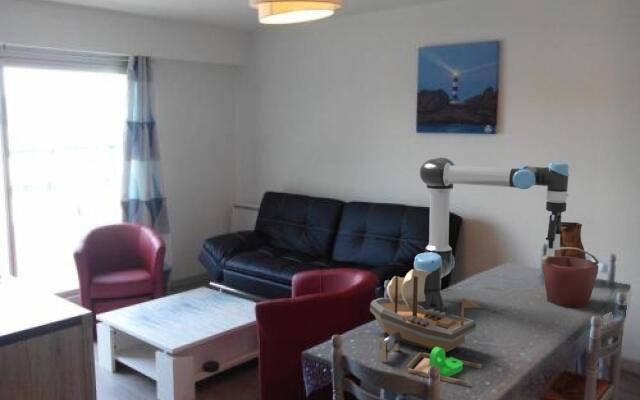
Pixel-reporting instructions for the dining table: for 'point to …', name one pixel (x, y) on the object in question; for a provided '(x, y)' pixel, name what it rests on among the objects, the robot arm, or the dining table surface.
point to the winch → (390, 345)
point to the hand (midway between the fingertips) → (553, 252)
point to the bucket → (569, 279)
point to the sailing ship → (419, 315)
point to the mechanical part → (445, 362)
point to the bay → (424, 367)
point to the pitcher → (570, 240)
